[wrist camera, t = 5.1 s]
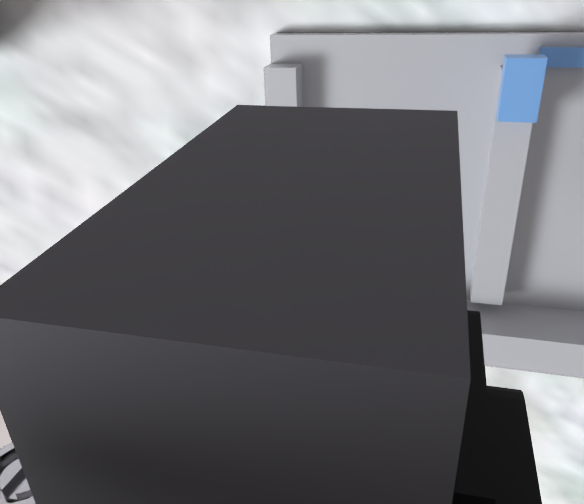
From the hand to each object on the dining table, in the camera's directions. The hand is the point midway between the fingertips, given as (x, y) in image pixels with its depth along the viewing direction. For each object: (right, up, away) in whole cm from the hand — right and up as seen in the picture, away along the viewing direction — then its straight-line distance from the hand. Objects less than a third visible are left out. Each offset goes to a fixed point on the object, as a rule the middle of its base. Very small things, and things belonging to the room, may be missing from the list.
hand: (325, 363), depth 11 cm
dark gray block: (0, +1, +1) cm, 2 cm away
